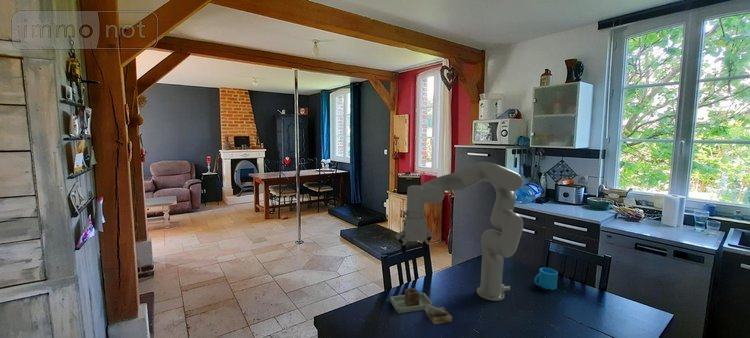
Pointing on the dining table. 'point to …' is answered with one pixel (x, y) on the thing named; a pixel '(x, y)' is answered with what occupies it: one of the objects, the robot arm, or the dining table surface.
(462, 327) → the dining table surface
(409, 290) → the walnut block
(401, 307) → the tray
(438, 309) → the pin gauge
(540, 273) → the mug
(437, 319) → the square wooden frame
